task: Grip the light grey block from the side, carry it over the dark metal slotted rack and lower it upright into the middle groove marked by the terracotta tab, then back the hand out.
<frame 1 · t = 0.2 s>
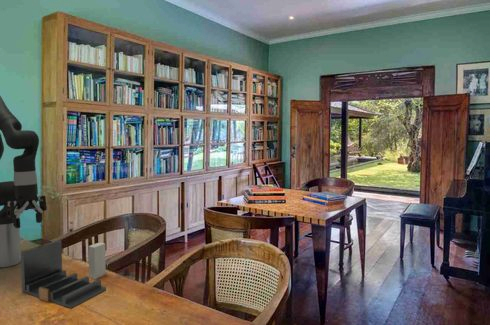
hand: (28, 225, 135), 18 cm above the table, tool pointing down, fingers open, 8 cm apart
light grey block: (97, 275, 132), on the table
rack: (64, 291, 120), on the table
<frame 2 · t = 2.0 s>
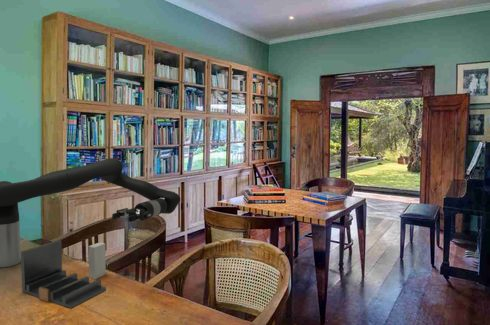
hand: (120, 218, 141), 19 cm above the table, tool horizontal, fingers open, 8 cm apart
nothing on the table moved.
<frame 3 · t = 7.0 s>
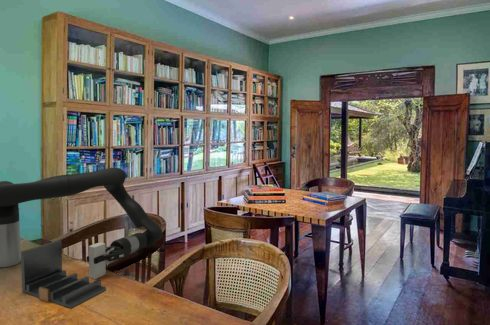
hand: (91, 260, 129), 7 cm above the table, tool horizontal, fingers closed on light grey block, 3 cm apart
light grey block: (97, 275, 132), on the table, touching gripper
when the fingers open (9 cm above the table, at t = 12.7 s): light grey block drops 1 cm, resting on rack.
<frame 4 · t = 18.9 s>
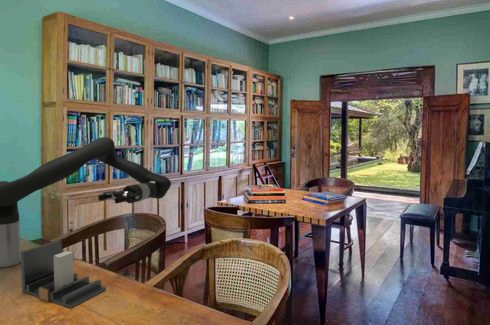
hand: (107, 199, 136), 28 cm above the table, tool horizontal, fingers open, 8 cm apart
light grey block: (64, 288, 120), point 1 cm above the table, touching rack
at the end: light grey block 0.1 cm off-centre on the rack, point 1.0 cm above the rack's base; light grey block tilted 0°; the gripper is holding nothing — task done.
